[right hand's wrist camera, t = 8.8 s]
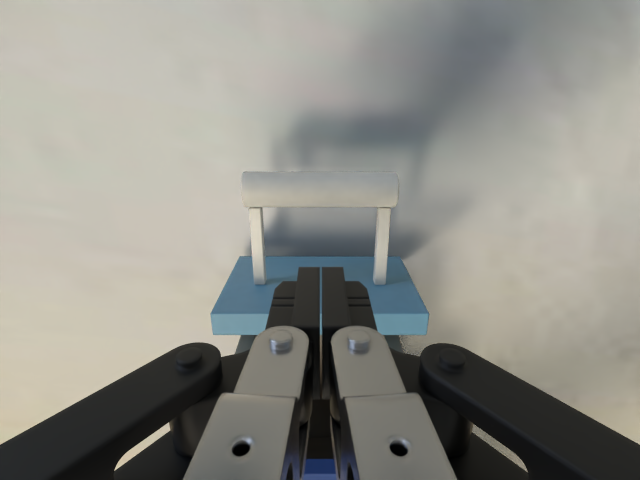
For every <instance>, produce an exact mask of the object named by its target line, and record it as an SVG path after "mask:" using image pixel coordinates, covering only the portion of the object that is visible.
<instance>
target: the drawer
mask: <svg viewBox="0 0 640 480" xmlns="http://www.w3.org/2000/svg"><path fill="white" fill-rule="evenodd" d="M398 197H399V179H398V175H397V173H396V172H243V174H242V177H241V198H242V203H243V205H244V207H250V208H249V220H250V234H251V248H252V256H240V257H239V259H238V261H237V263H236V265H235V267H234V269H233V271H232V273H231V275H230V277H229V278H228V280H227V282H226V284H225V286H224V288H223V290H222V292H221V294H220V296H219V298H218V300H217V302H216V304H215V306H214V308H213V310H212V312H211V322H212V330H213V335H241V337H240V340H239V343H238V346H237V349H236V352H235V354H238V353H242V352H244V351H247V350H249V349H251V347H252V344H253V342H254V339H255V338H256V336H257V335H258V334H259V333H261V332H262V331H264V330H265V328H266V324H267V319H268V315H269V311H270V307H271V303H272V299H273V294H274V290H275V288H276V287H277V286H278V285H279V284H280V283H281V282H282V281H297V276H298V269H299V267H320V399H313V400H312V413H311V416H310V429H309V437H308V446H307V454H306V459H334V454H333V446H332V437H331V429H330V399H322V267H343V269H344V277H345V281H359V282H361V283H362V284H363V285H364V286H365V287H366V288H367V290H368V294H369V299H370V302H371V307H372V310H373V314H374V318H375V322H376V326H377V330H378V332H379V333H381V334H382V335H383V336H384V338H385V339H386V342H387V344H388V346H389V347H390V348H392V349H394V350H396V351H399V352H401V353H404V351H403V348H402V345H401V342H400V339H399V336H398V335H426V334H427V326H428V318H429V313H428V311H427V309H426V307H425V305H424V303H423V301H422V299H421V297H420V295H419V293H418V291H417V289H416V287H415V285H414V283H413V281H412V279H411V277H410V275H409V273H408V271H407V269H406V268H405V266H404V264H403V262H402V260H401V258H400V257H399V256H388V244H389V230H390V217H391V208H390V207H396V205H397V202H398ZM262 207H377V222H376V238H375V255H374V256H265V244H264V227H263V210H262Z"/></svg>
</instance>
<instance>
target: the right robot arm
mask: <svg viewBox="0 0 640 480" xmlns="http://www.w3.org/2000/svg"><path fill="white" fill-rule="evenodd" d="M313 399H320V267H299V269H298V276H297V281H282V282H281V283H280V284H279V285H278V286H277V287H276V288H275V290H274V294H273V299H272V303H271V307H270V311H269V315H268V319H267V324H266V328H265V330H264V331H262V332H261V333H259V334H258V335H257V336H256V338H255V339H254V342H253V344H252V347H251V349H249V350H247V351H244V352H242V353H238V354H234V355H229V356H225V357H221V354H220V351H219V350H218V348H216V347H215V346H213V345H211V344H208V343H190V344H185V345H182V346H179V347H177V348H175V349H173V350H171V351H169V352H168V353H166V354H164V355H162V356H160V357H159V358H157V359H155V360H153V361H151V362H149V363H148V364H146V365H144V366H142V367H140V368H139V369H137V370H135V371H133V372H131V373H130V374H128V375H126V376H124V377H122V378H120V379H119V380H117V381H115V382H113V383H111V384H110V385H108V386H106V387H104V388H102V389H101V390H99V391H97V392H95V393H93V394H92V395H90V396H88V397H86V398H84V399H82V400H81V401H79V402H77V403H75V404H73V405H72V406H70V407H68V408H66V409H64V410H63V411H61V412H59V413H57V414H55V415H53V416H52V417H50V418H48V419H46V420H44V421H43V422H41V423H39V424H37V425H35V426H34V427H32V428H30V429H28V430H26V431H24V432H23V433H21V434H19V435H17V436H15V437H14V438H12V439H10V440H8V441H6V442H5V443H3V444H1V445H0V480H303V479H304V471H305V462H306V454H307V446H308V437H309V429H310V416H311V413H312V400H313ZM322 399H330V429H331V437H332V446H333V454H334V462H335V471H336V479H337V480H640V445H639V444H637V443H635V442H634V441H632V440H630V439H628V438H626V437H625V436H623V435H621V434H619V433H617V432H616V431H614V430H612V429H610V428H608V427H606V426H605V425H603V424H601V423H599V422H597V421H596V420H594V419H592V418H590V417H588V416H587V415H585V414H583V413H581V412H579V411H577V410H576V409H574V408H572V407H570V406H568V405H567V404H565V403H563V402H561V401H559V400H558V399H556V398H554V397H552V396H550V395H549V394H547V393H545V392H543V391H541V390H539V389H538V388H536V387H534V386H532V385H530V384H529V383H527V382H525V381H523V380H521V379H520V378H518V377H516V376H514V375H512V374H510V373H509V372H507V371H505V370H503V369H501V368H500V367H498V366H496V365H494V364H492V363H491V362H489V361H487V360H485V359H483V358H481V357H480V356H478V355H476V354H474V353H472V352H471V351H469V350H467V349H465V348H463V347H460V346H457V345H453V344H446V343H438V344H433V345H430V346H428V347H426V348H425V349H424V350H423V351H422V353H421V357H419V356H414V355H409V354H405V353H401V352H399V351H396V350H394V349H392V348H390V347H389V346H388V344H387V342H386V339H385V338H384V336H383V335H382V334H381V333H379V332H378V330H377V326H376V322H375V318H374V314H373V310H372V307H371V302H370V299H369V294H368V290H367V288H366V287H365V286H364V285H363V284H362V283H361V282H359V281H345V277H344V269H343V267H322ZM168 422H169V425H170V431H169V432H168V433H166V434H165V435H164V436H162V437H161V438H159V439H158V440H157V441H155V442H154V443H153V444H151V445H150V446H148V447H147V448H146V449H144V450H143V451H142V452H140V453H139V454H137V455H136V456H135V457H133V458H132V459H131V460H129V461H128V462H126V463H125V464H124V465H122V466H121V467H120V468H118V469H117V470H115V471H114V469H115V467H116V465H117V463H118V461H119V460H120V458H121V457H122V456H123V455H124V454H125V453H126V452H127V451H129V450H130V449H131V448H133V447H134V446H136V445H137V444H138V443H140V442H141V441H143V440H144V439H146V438H147V437H148V436H150V435H151V434H153V433H154V432H155V431H157V430H158V429H160V428H161V427H163V426H164V425H165V424H167V423H168ZM473 424H475V425H476V426H477V427H479V428H480V429H482V430H483V431H485V432H486V433H487V434H489V435H490V436H492V437H493V438H494V439H496V440H497V441H499V442H500V443H502V444H503V445H504V446H506V447H507V448H509V449H510V450H511V451H513V452H514V453H515V454H516V455H518V456H519V458H520V459H521V460H522V461H523V463H524V464H525V466H526V468H527V470H528V473H527V472H526V471H525V470H523V469H522V468H520V467H519V466H518V465H516V464H515V463H514V462H512V461H511V460H509V459H508V458H507V457H505V456H504V455H503V454H501V453H500V452H498V451H497V450H496V449H494V448H493V447H492V446H490V445H489V444H487V443H486V442H485V441H483V440H482V439H481V438H479V437H478V436H476V435H475V434H474V433H472V428H473Z"/></svg>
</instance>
